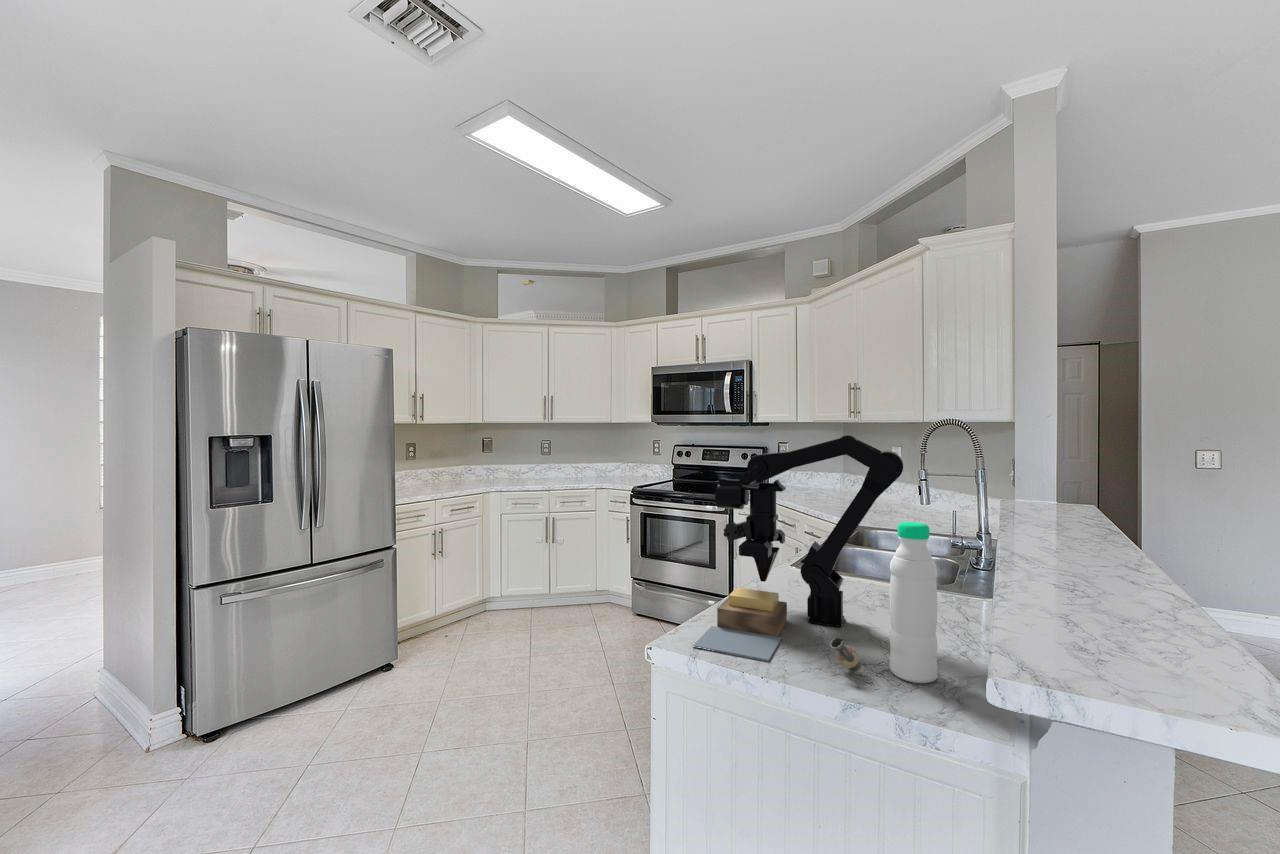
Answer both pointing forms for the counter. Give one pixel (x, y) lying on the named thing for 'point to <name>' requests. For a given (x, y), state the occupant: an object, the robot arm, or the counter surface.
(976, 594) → the counter surface
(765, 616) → the brown box
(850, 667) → the vase
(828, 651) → the counter surface
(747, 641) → the mat
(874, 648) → the counter surface
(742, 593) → the pale yellow rectangular block
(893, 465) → the robot arm
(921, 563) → the water bottle
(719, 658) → the counter surface
